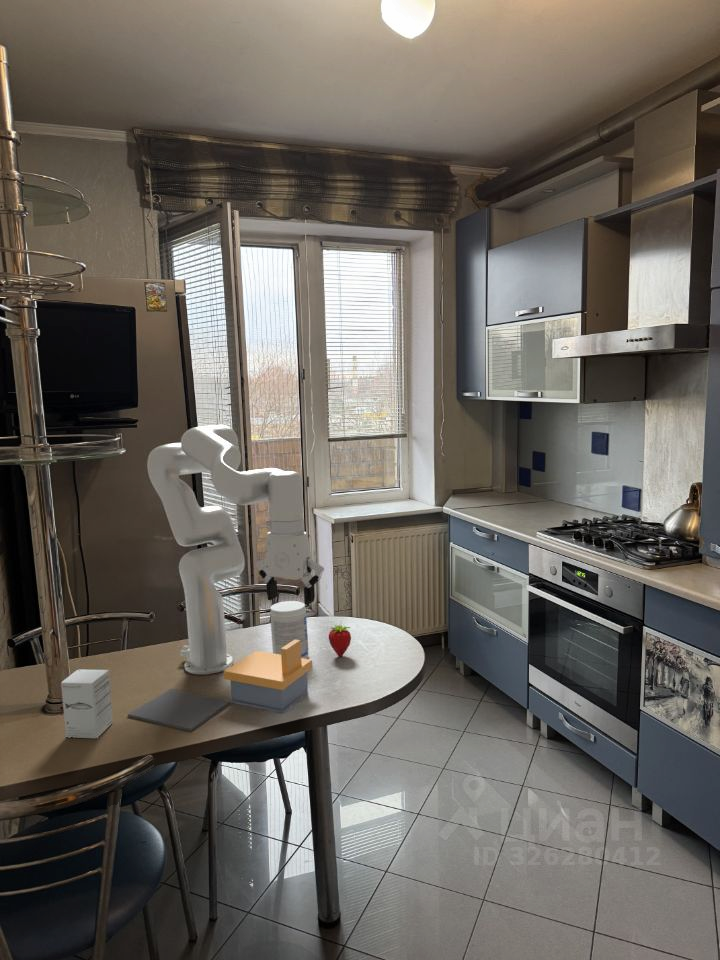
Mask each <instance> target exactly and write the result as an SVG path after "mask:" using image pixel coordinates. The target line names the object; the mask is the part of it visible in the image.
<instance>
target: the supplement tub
mask: <svg viewBox="0 0 720 960" xmlns="http://www.w3.org/2000/svg"><path fill="white" fill-rule="evenodd" d="M269 614H270V615H269V616H270V617H269V618H270V628H271V629H270V631H271V644H272V645H271V646H272V653H273V654H280V655H281V648H282V647H284V646H285V645H287V644H288V643H290V642H292V641H293V640H295V639H296V640H300V643H301V658H304V659H308V657H309V654H310V653H309V641H308V639H309V638H308V622H307V609H306V605H305V603H304V602H301V601H297V600H288V601H287V600H286V601H280V602H276V603H274V604H272V605H271V606H270V612H269Z"/></svg>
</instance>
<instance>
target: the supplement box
mask: <svg viewBox="0 0 720 960" xmlns="http://www.w3.org/2000/svg"><path fill="white" fill-rule="evenodd" d="M60 685H61V696H62V697H61V698H62V706H63V708H62V709H63V717H64V729H65V738H66V737H68V738H69V739H70V738H71V737H73V738H72V739H74V738H77V739H78V738H79V739H94V740H95V738H97V739H99V738H100V737H101V736H100V735H101V734H102V733H103V732H104V731H105V730H106V729H107V728H108V727H109V726H110V725H111V724H112V725H113V723H114V720H113V706H112V695H111V694H112V693H111V683H110V670H109V669H77V670H75V671H74V672H73V673H71V674H70V675H69V676H68V677H66V678H65V679H64V680H62V681H61V683H60ZM112 725H111V726H112ZM111 726H110V727H111ZM110 727H109V728H110ZM109 728H108V729H109ZM108 729H107V730H108ZM105 732H106V731H105ZM105 732H104V733H105ZM104 733H103V734H104ZM103 734H102V735H103ZM99 736H100V737H99ZM98 737H99V738H98ZM68 738H67V739H68Z"/></svg>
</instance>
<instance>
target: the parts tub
mask: <svg viewBox="0 0 720 960" xmlns="http://www.w3.org/2000/svg"><path fill="white" fill-rule="evenodd" d="M229 682H230V694H231V704H237V705H242V706H246V707H251V708H256V709H261V710H266V711H270V712H274V713H275V712H276V713H281V714H283V713H285V712H286V711H287V710H288V709H290V708H291V707H292V706H293V705H295V704H297V702H298V701H300V700H301V699H302V698H303V697H305V696H306V695H307V694H309V693H308V692H309V688H308V686H309V685H308V671H307V672H306V673H305V674H304V675H302V676H301V677H300V678H298V679H297V680H296V681H294V682H293V683H292V684H290V685H289V686H288V687H286V688H285V689H284V690H279V689H274V688H268V687H263V686H258V685H252V684H247V683H242V682H237V681H231V680H229Z"/></svg>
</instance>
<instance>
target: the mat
mask: <svg viewBox="0 0 720 960" xmlns="http://www.w3.org/2000/svg"><path fill="white" fill-rule="evenodd" d="M230 704H232V701H231V700H227V699H222V698H216V697H212V696H206V695H204V694H197V693H193V692H188V691H183V690H178V689H174V688H169V689H167V690H166V691H164V692H163V693H160V694H159V695H157V696H155V697H154V698H153V699H151V700H149V701H148V702H146V703H144V704H143V705H141V706H139V707H137V708H136V709H134V710H132V711H131V712H129V713H127V717H129V718H132V717H133V718H134V719H137V720H140V721H141V720H142V721H144V720H145V721H146V722H149V723H152V724H158V725H161V726H166V727H170V728H174V729H179V730H182V731H186V732H193V731H194V730H195V729H196V728H198V727H199V726H201V725H202V724H203V723H205V722H206V721H208V720H209V719H211V718H212V717H213V716H215V715H216V714H218V713H219V712H221V711H222V710H224V709H225V708H226V707H228V706H230ZM133 718H132V719H133ZM145 721H144V722H145Z"/></svg>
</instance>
